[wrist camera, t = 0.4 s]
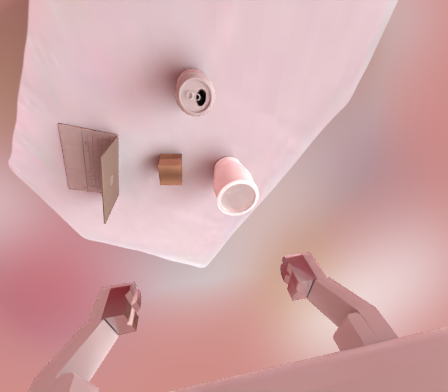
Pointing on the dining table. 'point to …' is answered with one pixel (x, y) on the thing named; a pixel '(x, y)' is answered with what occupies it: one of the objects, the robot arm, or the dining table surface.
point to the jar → (234, 187)
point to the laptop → (92, 162)
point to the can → (194, 93)
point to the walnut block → (170, 169)
